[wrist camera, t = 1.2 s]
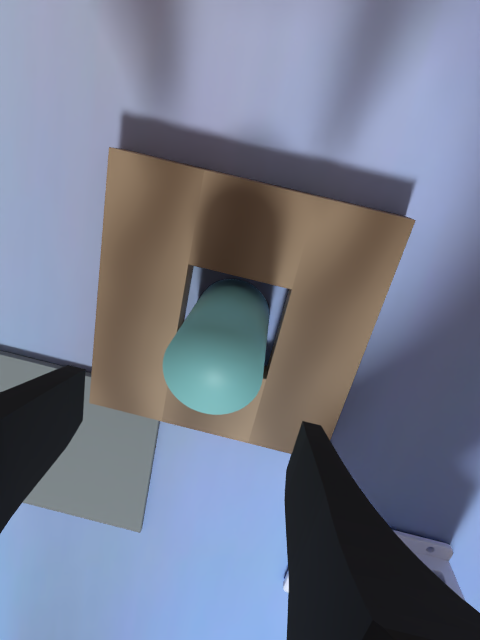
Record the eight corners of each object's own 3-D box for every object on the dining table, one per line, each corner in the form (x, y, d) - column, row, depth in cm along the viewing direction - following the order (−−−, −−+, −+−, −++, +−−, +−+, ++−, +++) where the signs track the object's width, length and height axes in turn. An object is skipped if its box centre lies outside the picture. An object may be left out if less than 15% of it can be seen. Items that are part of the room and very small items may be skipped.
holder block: (405, 216, 18) (415, 220, 17) (319, 444, 24) (321, 461, 22) (122, 148, 18) (109, 147, 17) (100, 389, 24) (89, 403, 22)
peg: (277, 289, 20) (274, 339, 14) (259, 354, 22) (250, 424, 16) (204, 271, 20) (170, 313, 14) (191, 337, 22) (156, 401, 16)
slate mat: (164, 391, 23) (163, 395, 23) (141, 527, 28) (140, 532, 28) (-24, 344, 24) (-29, 347, 23) (-16, 487, 28) (-20, 491, 28)
